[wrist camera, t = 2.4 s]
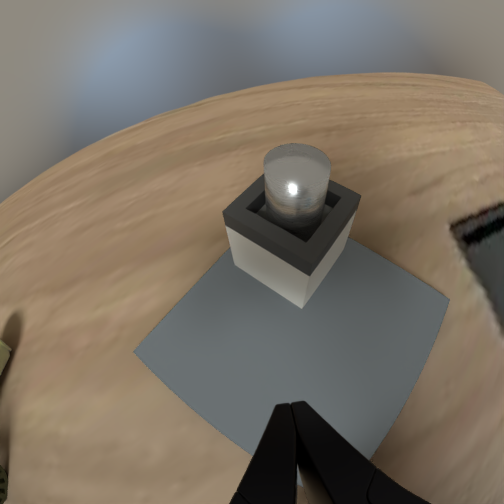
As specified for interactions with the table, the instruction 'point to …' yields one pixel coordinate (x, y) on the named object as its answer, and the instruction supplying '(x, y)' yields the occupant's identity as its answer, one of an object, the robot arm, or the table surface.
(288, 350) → the mat
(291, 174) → the button
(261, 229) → the housing
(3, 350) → the cannon
